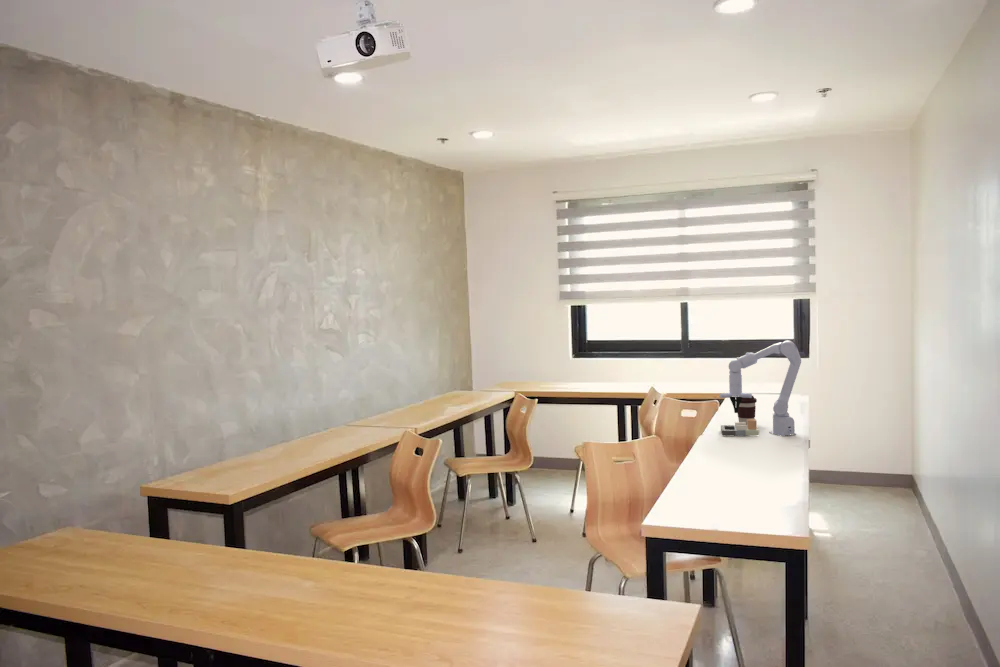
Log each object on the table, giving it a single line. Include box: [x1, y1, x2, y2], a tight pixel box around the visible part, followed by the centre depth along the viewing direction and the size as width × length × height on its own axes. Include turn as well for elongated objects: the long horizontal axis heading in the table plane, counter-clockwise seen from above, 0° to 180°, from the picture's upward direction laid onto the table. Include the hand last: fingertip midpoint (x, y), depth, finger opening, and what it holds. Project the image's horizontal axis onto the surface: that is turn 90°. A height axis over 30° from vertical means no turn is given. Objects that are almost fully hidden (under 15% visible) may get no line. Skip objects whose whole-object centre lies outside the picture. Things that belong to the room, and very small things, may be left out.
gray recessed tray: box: [720, 424, 747, 437], centre depth 353 cm, size 10×13×2 cm
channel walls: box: [734, 421, 747, 430], centre depth 352 cm, size 5×9×2 cm, turn 166°
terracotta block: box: [747, 418, 758, 429], centre depth 351 cm, size 4×5×4 cm
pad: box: [745, 427, 760, 435], centre depth 351 cm, size 6×11×2 cm, turn 166°
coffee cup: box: [737, 395, 758, 425], centre depth 370 cm, size 10×10×15 cm
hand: (736, 412), depth 355 cm, fingers closed
